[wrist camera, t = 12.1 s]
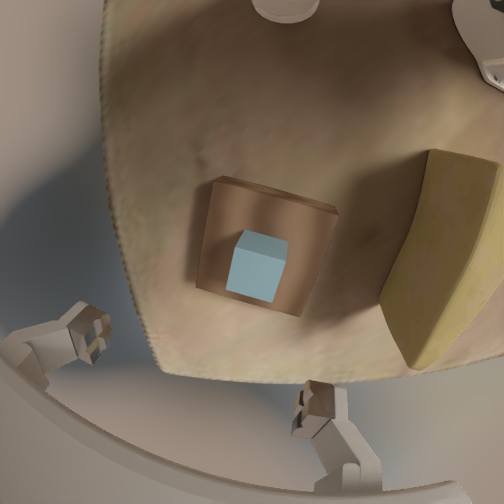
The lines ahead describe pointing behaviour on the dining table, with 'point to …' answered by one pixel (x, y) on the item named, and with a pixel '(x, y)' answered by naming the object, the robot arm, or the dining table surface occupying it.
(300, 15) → the bottle
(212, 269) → the riser
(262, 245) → the cube
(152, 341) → the dining table surface
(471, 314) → the cheese
